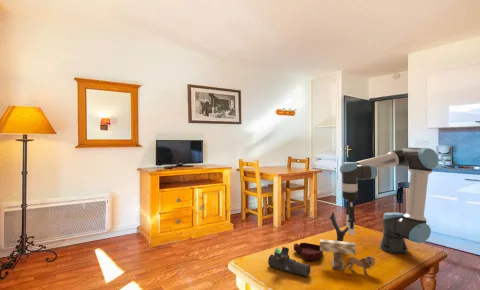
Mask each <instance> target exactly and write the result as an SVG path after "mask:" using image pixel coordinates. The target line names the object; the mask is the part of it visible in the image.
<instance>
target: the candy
mask: <svg viewBox="0 0 480 290" xmlns="http://www.w3.org/2000/svg"><path fill="white" fill-rule="evenodd" d="M281 251H282V249H280V248H279V247H277V248H275V249H274V252H276V253H279V254H280V253H281Z"/></svg>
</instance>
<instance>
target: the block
mask: <svg viewBox="0 0 480 290" xmlns="http://www.w3.org/2000/svg"><path fill="white" fill-rule="evenodd" d="M319 245H320V251H323V252H329V253H334V252H336V253H342V254H347V255H352V256H353V255H355V256H356V250H357V249H356V247H357V246H356V242H352V241H344V240H343V241H337V240H333V239H321V238H320V239H319Z"/></svg>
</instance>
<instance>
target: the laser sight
mask: <svg viewBox="0 0 480 290" xmlns="http://www.w3.org/2000/svg"><path fill="white" fill-rule="evenodd" d="M289 250H290V248H289V247H286V246H282V248H281V253H280V254H279V253H276V252H275V251H274V252H273V253H274V254H270V255H269V256H268V260H267V265H268V266H269V267H272V268H273V269H277V270H280V271H284V272H286V273H289V274H296V275H300V276H304V277H306V278H308V277H309V276H310V274H311V270H312V269H311V265H310V264H306V263H303V262H300V261H297V260H296V259H292V258H290V255H289Z"/></svg>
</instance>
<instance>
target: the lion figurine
mask: <svg viewBox="0 0 480 290" xmlns="http://www.w3.org/2000/svg"><path fill="white" fill-rule="evenodd" d="M354 265H356V266H357V267H359V268H362V269H363V273H364V275H365V276H367V275H368V272H367V271H368V270H367V269H371V267H373V266H374V265H375V258H374V256H372V255H367V256H366V257H363V258H361V259H360V258H357V257H355V256H350V257H348V259H347V262H346V265H344V269H345V268H348V269H350V270H351V272H353V273H354V272H355V269H353V267H354Z"/></svg>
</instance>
